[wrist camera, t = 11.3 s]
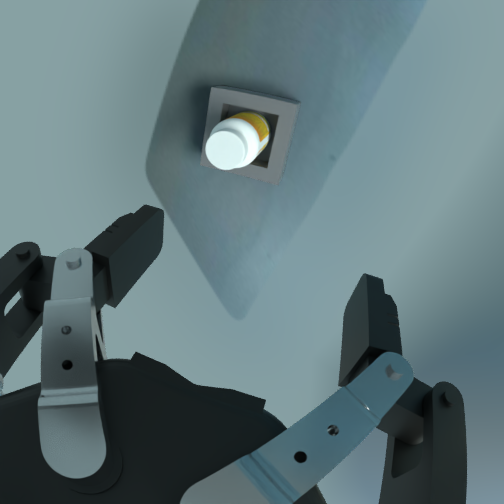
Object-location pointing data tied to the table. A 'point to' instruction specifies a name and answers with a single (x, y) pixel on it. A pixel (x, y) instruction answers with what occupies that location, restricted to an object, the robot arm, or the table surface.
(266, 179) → the socket mount
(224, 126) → the supplement bottle
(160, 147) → the table surface
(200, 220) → the table surface
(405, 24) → the table surface
